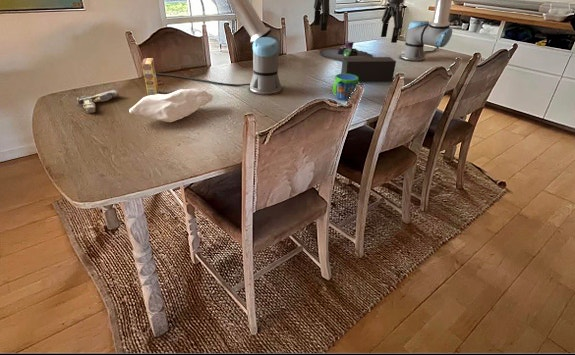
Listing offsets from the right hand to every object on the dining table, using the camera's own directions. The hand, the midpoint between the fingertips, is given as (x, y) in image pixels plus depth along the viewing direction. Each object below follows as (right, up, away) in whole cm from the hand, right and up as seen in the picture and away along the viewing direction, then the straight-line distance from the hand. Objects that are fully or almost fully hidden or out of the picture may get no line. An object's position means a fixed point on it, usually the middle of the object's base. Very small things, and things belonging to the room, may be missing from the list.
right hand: (388, 39), depth 188 cm
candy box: (-114, -34, -21) cm, 121 cm away
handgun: (-132, -40, -33) cm, 142 cm away
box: (-9, -18, +10) cm, 23 cm away
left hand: (-37, 0, -14) cm, 40 cm away
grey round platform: (-14, +9, +52) cm, 55 cm away
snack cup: (-25, -34, -16) cm, 45 cm away
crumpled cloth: (-100, -45, -39) cm, 116 cm away
